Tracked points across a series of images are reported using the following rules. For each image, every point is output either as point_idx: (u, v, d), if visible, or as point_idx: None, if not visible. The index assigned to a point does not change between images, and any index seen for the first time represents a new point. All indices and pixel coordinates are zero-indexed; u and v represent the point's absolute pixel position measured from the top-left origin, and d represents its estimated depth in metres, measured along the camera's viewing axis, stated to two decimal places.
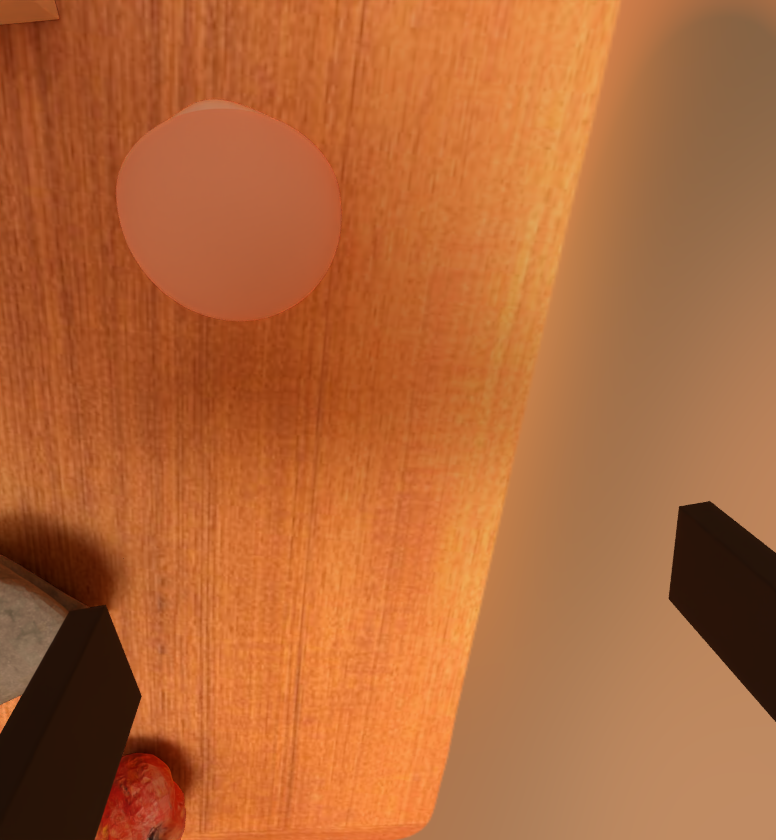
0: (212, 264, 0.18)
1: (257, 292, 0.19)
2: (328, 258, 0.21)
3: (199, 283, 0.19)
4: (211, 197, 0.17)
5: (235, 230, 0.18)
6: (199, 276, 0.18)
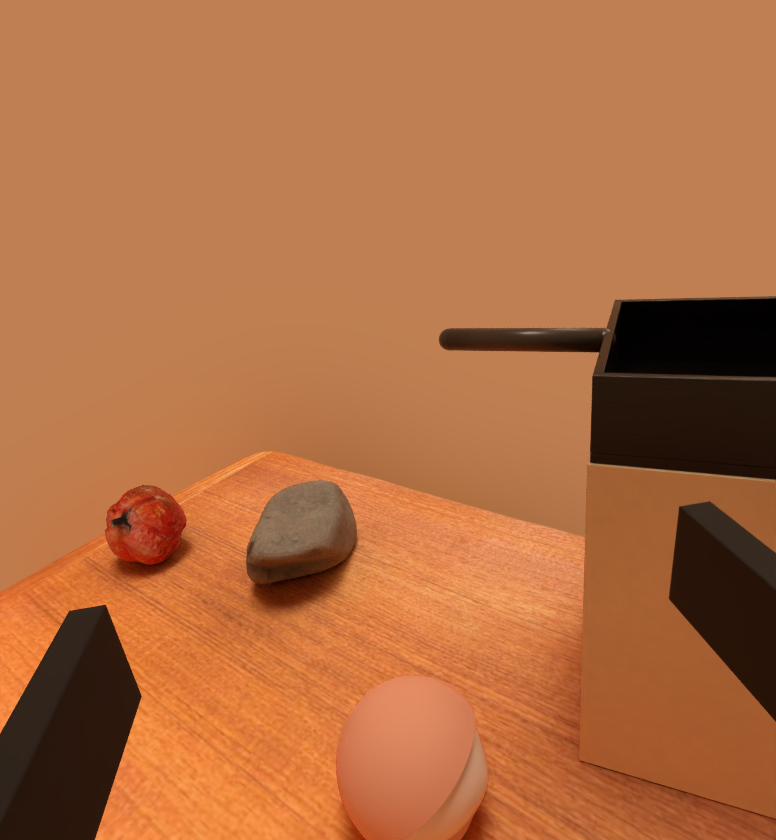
0: (386, 693, 0.28)
1: (357, 716, 0.28)
2: (349, 790, 0.26)
3: (381, 686, 0.29)
4: (419, 709, 0.27)
5: (395, 711, 0.27)
6: (384, 687, 0.29)
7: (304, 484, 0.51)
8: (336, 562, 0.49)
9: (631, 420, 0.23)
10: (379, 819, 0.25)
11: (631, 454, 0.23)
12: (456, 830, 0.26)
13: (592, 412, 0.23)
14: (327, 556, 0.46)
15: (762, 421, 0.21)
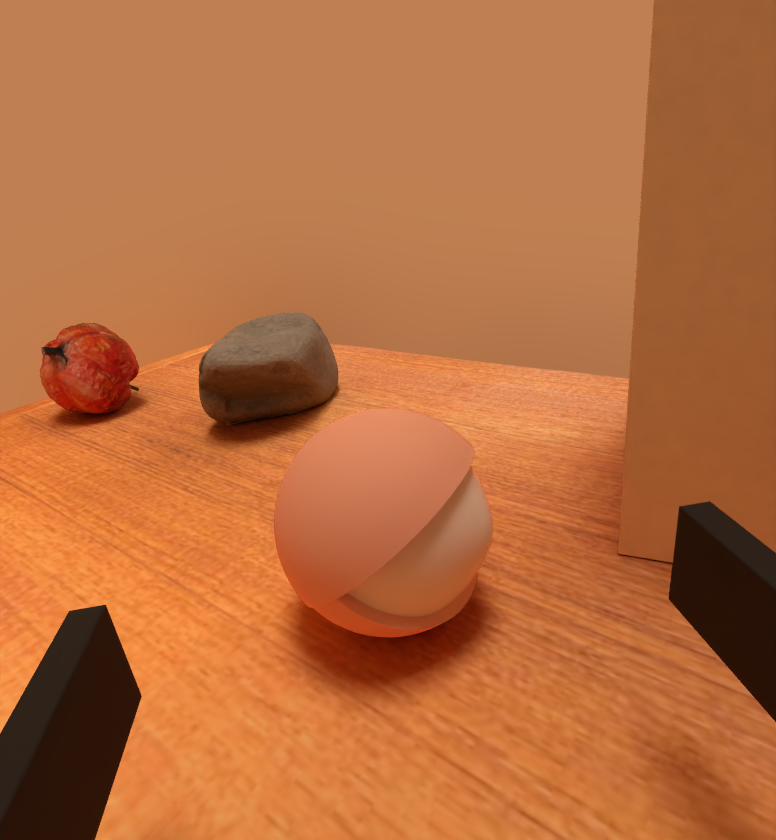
0: None
1: (305, 445, 0.19)
2: (286, 528, 0.18)
3: None
4: (392, 419, 0.18)
5: (358, 423, 0.18)
6: None
7: (275, 314, 0.43)
8: (310, 398, 0.40)
9: None
10: (327, 555, 0.17)
11: None
12: (444, 588, 0.17)
13: None
14: (297, 378, 0.37)
15: None
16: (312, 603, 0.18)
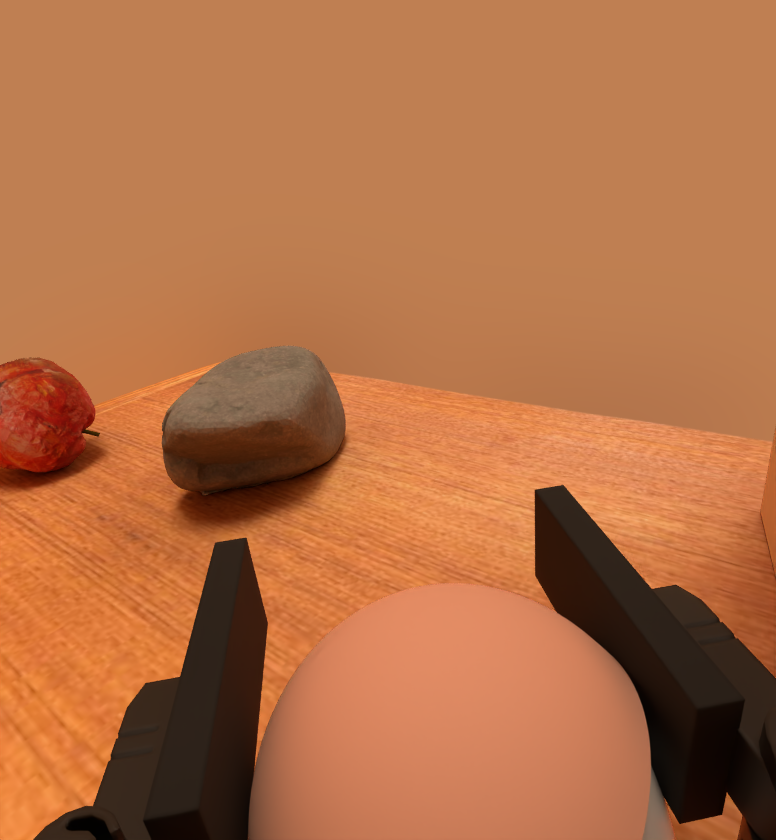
0: (390, 613, 0.10)
1: (308, 672, 0.10)
2: None
3: (377, 602, 0.11)
4: (486, 650, 0.09)
5: (416, 657, 0.09)
6: (386, 601, 0.11)
7: (265, 348, 0.33)
8: (311, 461, 0.31)
9: None
10: None
11: None
12: None
13: None
14: (293, 440, 0.28)
15: None
16: None
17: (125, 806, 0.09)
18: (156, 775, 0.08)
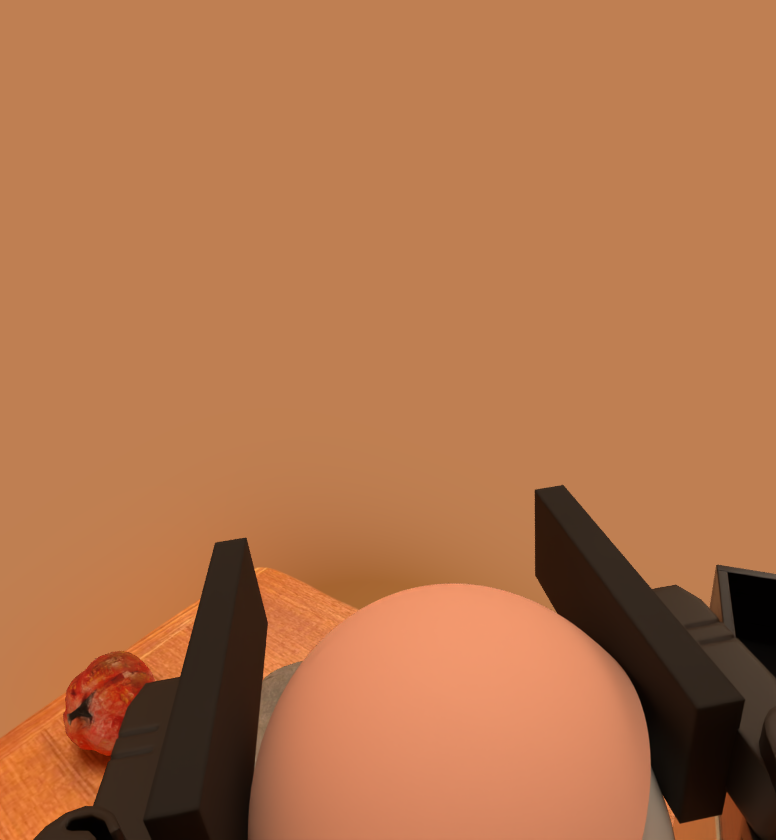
0: (389, 613, 0.10)
1: (308, 673, 0.10)
2: None
3: (377, 603, 0.11)
4: (486, 650, 0.09)
5: (416, 657, 0.09)
6: (385, 602, 0.11)
7: None
8: None
9: None
10: None
11: None
12: None
13: None
14: None
15: None
16: None
17: (125, 806, 0.09)
18: (156, 775, 0.08)
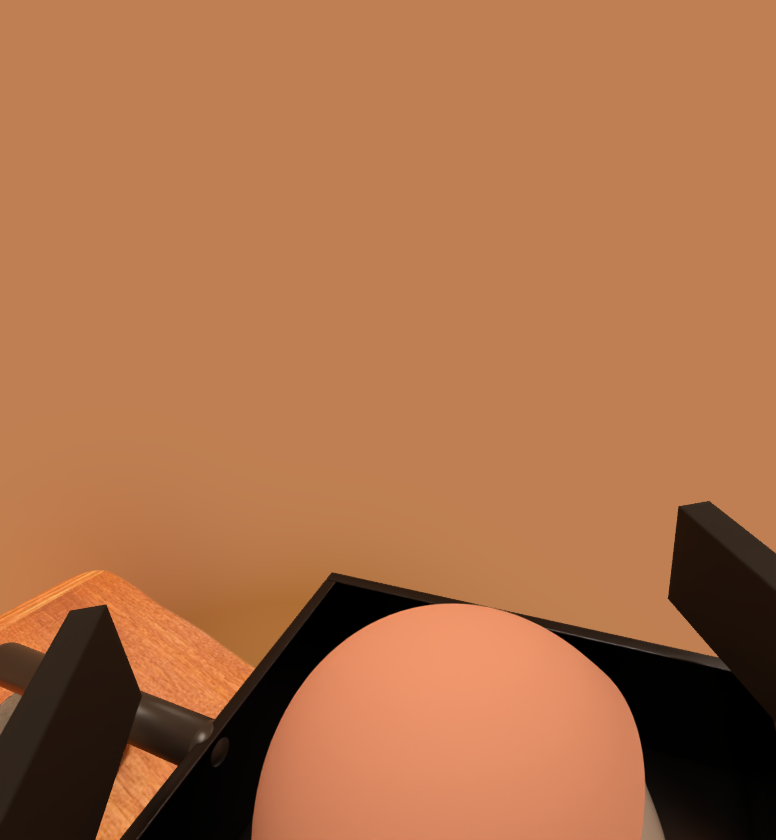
0: (389, 636, 0.11)
1: (310, 695, 0.10)
2: None
3: (378, 624, 0.12)
4: (484, 675, 0.09)
5: (415, 682, 0.09)
6: (386, 623, 0.11)
7: None
8: None
9: None
10: None
11: None
12: None
13: None
14: None
15: None
16: None
17: None
18: None
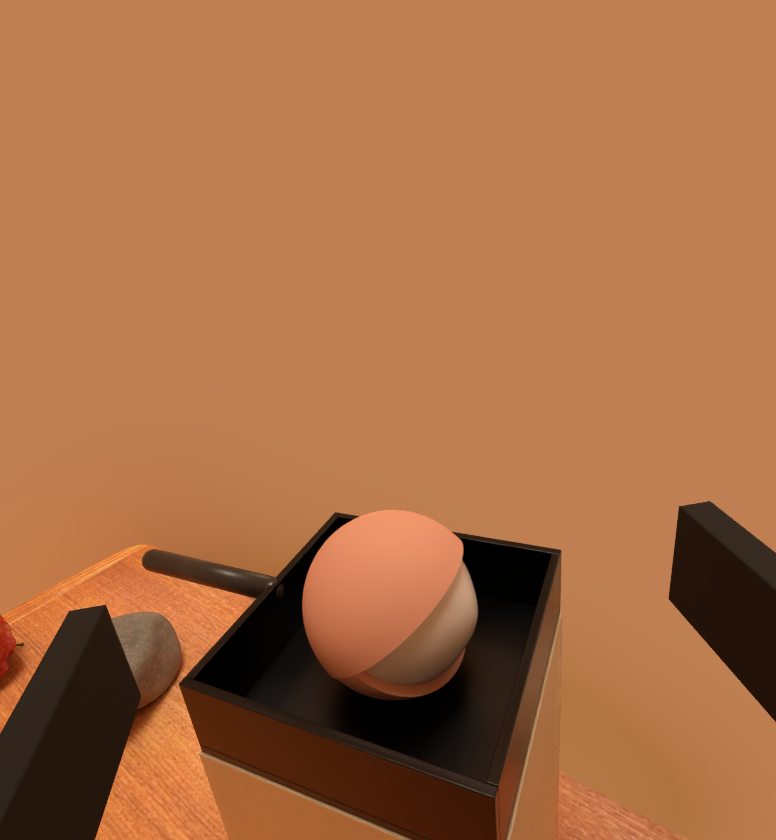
0: (361, 519, 0.24)
1: (327, 543, 0.24)
2: (314, 616, 0.22)
3: None
4: (398, 528, 0.23)
5: (370, 531, 0.23)
6: (360, 516, 0.25)
7: (122, 618, 0.51)
8: (144, 704, 0.49)
9: (218, 728, 0.22)
10: (347, 642, 0.21)
11: (230, 754, 0.23)
12: (438, 664, 0.22)
13: (189, 712, 0.23)
14: None
15: (311, 760, 0.21)
16: (334, 675, 0.22)
17: None
18: None
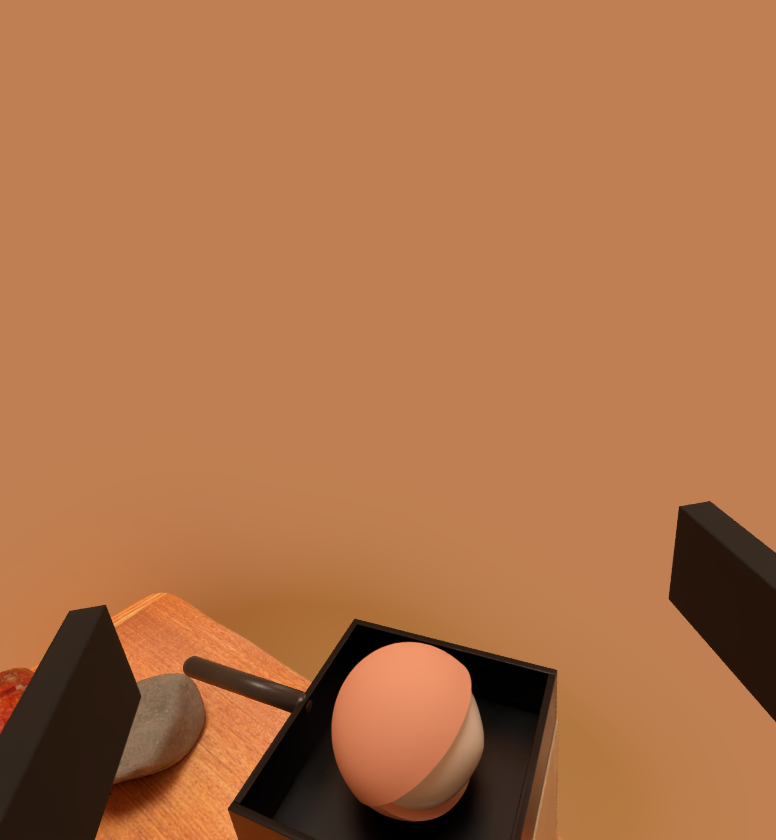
0: (382, 657, 0.28)
1: (353, 679, 0.28)
2: (343, 751, 0.26)
3: (378, 651, 0.29)
4: (415, 671, 0.27)
5: (391, 674, 0.27)
6: (381, 651, 0.29)
7: (151, 682, 0.55)
8: (172, 764, 0.52)
9: None
10: (373, 779, 0.25)
11: None
12: (450, 793, 0.26)
13: (235, 830, 0.27)
14: (154, 770, 0.49)
15: None
16: (361, 801, 0.26)
17: None
18: None
